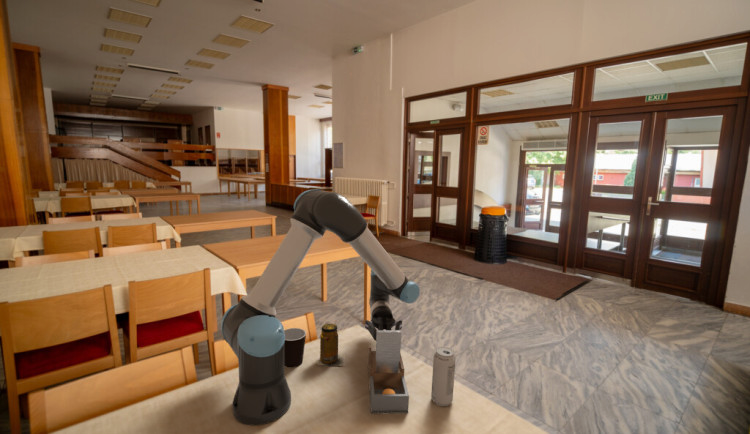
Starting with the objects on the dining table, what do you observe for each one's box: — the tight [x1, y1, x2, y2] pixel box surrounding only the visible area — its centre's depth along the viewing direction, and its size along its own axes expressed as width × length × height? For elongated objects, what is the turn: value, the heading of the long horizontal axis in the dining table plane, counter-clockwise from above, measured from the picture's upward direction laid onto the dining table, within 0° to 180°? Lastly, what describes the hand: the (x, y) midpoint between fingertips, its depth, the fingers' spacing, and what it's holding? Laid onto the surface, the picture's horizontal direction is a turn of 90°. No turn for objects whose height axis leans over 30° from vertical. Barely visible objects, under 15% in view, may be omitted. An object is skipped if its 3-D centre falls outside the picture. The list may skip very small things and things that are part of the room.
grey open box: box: [369, 375, 410, 414], centre depth 97 cm, size 10×9×5 cm
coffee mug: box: [284, 327, 307, 369], centre depth 116 cm, size 12×9×10 cm
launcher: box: [367, 347, 405, 392], centre depth 107 cm, size 10×12×7 cm
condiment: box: [316, 323, 346, 367], centre depth 116 cm, size 7×8×12 cm
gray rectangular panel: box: [375, 329, 402, 373], centre depth 100 cm, size 7×1×13 cm, turn 94°
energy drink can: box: [430, 346, 457, 407], centre depth 98 cm, size 6×6×15 cm
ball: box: [382, 389, 395, 394], centre depth 95 cm, size 4×4×4 cm
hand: (388, 349), depth 101 cm, fingers closed
